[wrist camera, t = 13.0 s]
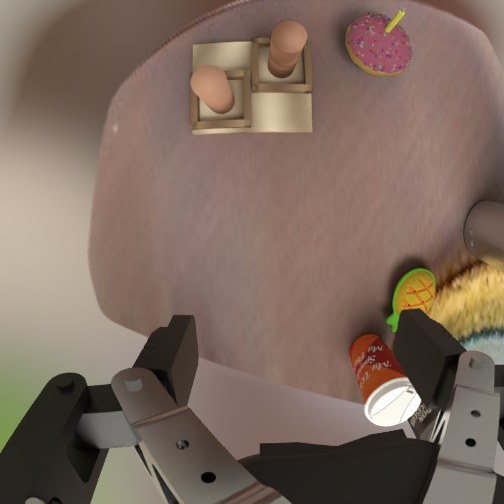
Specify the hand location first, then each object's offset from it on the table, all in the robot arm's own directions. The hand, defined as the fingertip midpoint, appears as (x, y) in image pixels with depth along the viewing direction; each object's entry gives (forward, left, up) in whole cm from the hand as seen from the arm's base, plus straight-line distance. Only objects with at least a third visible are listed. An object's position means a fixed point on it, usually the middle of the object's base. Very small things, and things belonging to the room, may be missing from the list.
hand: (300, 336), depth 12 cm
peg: (+6, -14, -29) cm, 33 cm away
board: (+2, -16, -30) cm, 34 cm away
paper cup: (-15, +21, -30) cm, 40 cm away
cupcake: (-13, -22, -30) cm, 40 cm away
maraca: (-20, +12, -30) cm, 38 cm away
